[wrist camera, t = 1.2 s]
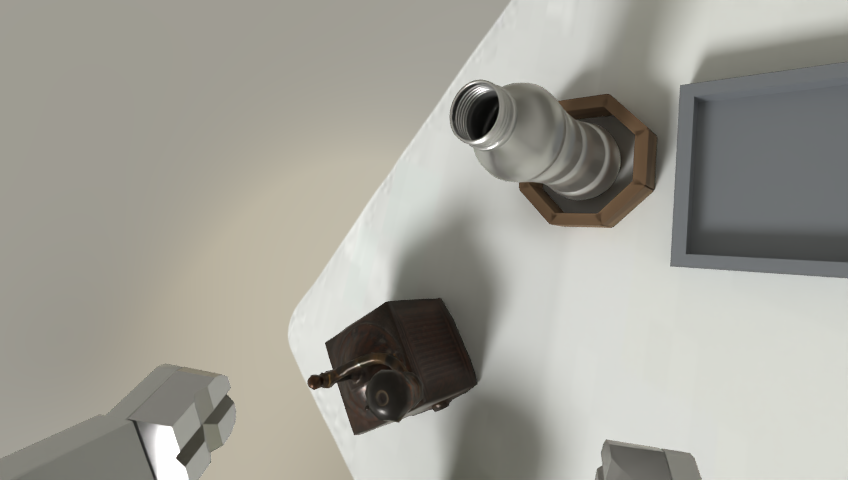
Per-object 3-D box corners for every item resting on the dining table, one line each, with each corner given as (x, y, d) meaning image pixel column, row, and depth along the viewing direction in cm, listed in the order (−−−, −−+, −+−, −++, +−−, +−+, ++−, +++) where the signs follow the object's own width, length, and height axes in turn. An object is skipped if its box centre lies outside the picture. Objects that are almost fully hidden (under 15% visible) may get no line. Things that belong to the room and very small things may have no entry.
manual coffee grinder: (414, 422, 55) (281, 477, 40) (381, 332, 58) (248, 354, 44) (523, 372, 47) (405, 420, 32) (476, 272, 50) (351, 276, 36)
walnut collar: (659, 98, 40) (650, 87, 38) (652, 228, 40) (643, 226, 38) (537, 113, 47) (523, 105, 44) (530, 225, 47) (516, 223, 44)
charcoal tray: (933, 62, 30) (944, 48, 28) (923, 282, 30) (932, 284, 28) (686, 94, 39) (680, 85, 37) (676, 266, 39) (670, 266, 37)
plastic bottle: (629, 125, 42) (528, 40, 26) (625, 203, 41) (522, 165, 26) (558, 133, 45) (433, 63, 30) (554, 204, 45) (427, 171, 30)
